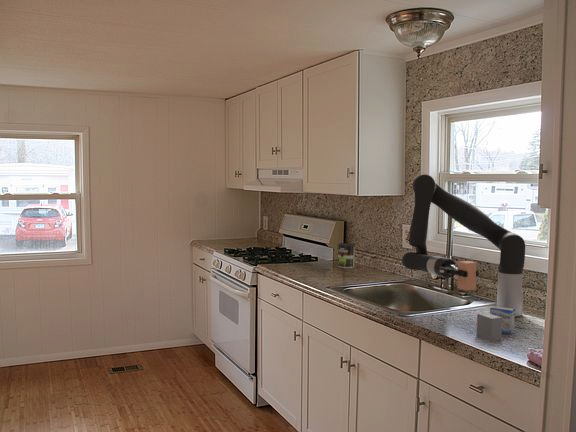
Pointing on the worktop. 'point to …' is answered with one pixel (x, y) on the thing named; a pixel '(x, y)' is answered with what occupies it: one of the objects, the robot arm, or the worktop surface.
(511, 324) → the medicine box
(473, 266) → the terracotta block
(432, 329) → the worktop surface
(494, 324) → the slate-grey plastic block
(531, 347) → the worktop surface
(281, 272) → the worktop surface
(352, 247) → the clear container
